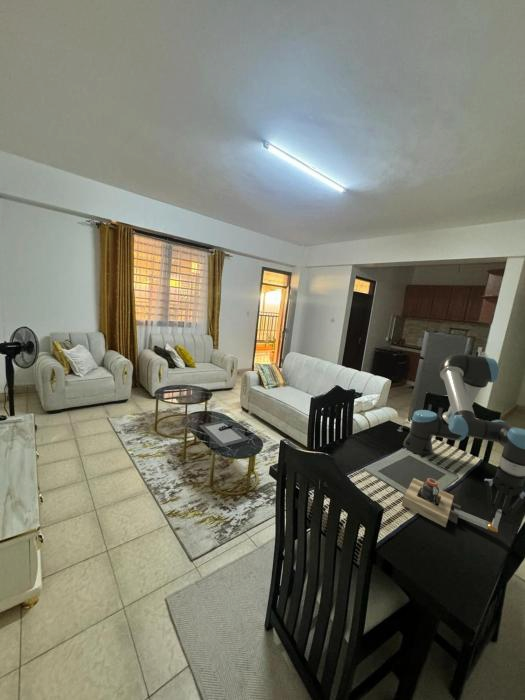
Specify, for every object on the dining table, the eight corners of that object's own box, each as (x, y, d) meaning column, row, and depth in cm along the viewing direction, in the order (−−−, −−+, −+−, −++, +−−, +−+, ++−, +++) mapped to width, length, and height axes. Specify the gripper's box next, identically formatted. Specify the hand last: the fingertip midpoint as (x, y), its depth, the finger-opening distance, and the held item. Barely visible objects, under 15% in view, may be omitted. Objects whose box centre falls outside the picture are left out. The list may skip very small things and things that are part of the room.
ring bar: (454, 507, 115) (498, 525, 106) (454, 510, 115) (497, 528, 107) (453, 512, 112) (498, 530, 104) (453, 515, 113) (497, 533, 104)
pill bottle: (437, 510, 117) (443, 486, 115) (422, 507, 118) (427, 484, 116) (431, 500, 123) (437, 477, 120) (417, 497, 124) (422, 475, 121)
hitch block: (411, 485, 132) (413, 477, 131) (459, 507, 120) (462, 499, 119) (401, 504, 118) (403, 496, 117) (454, 532, 106) (457, 523, 106)
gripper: (488, 466, 102) (472, 521, 107) (537, 484, 94) (517, 542, 99) (489, 458, 108) (474, 510, 112) (535, 474, 100) (516, 530, 104)
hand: (494, 525), depth 106 cm, fingers closed
